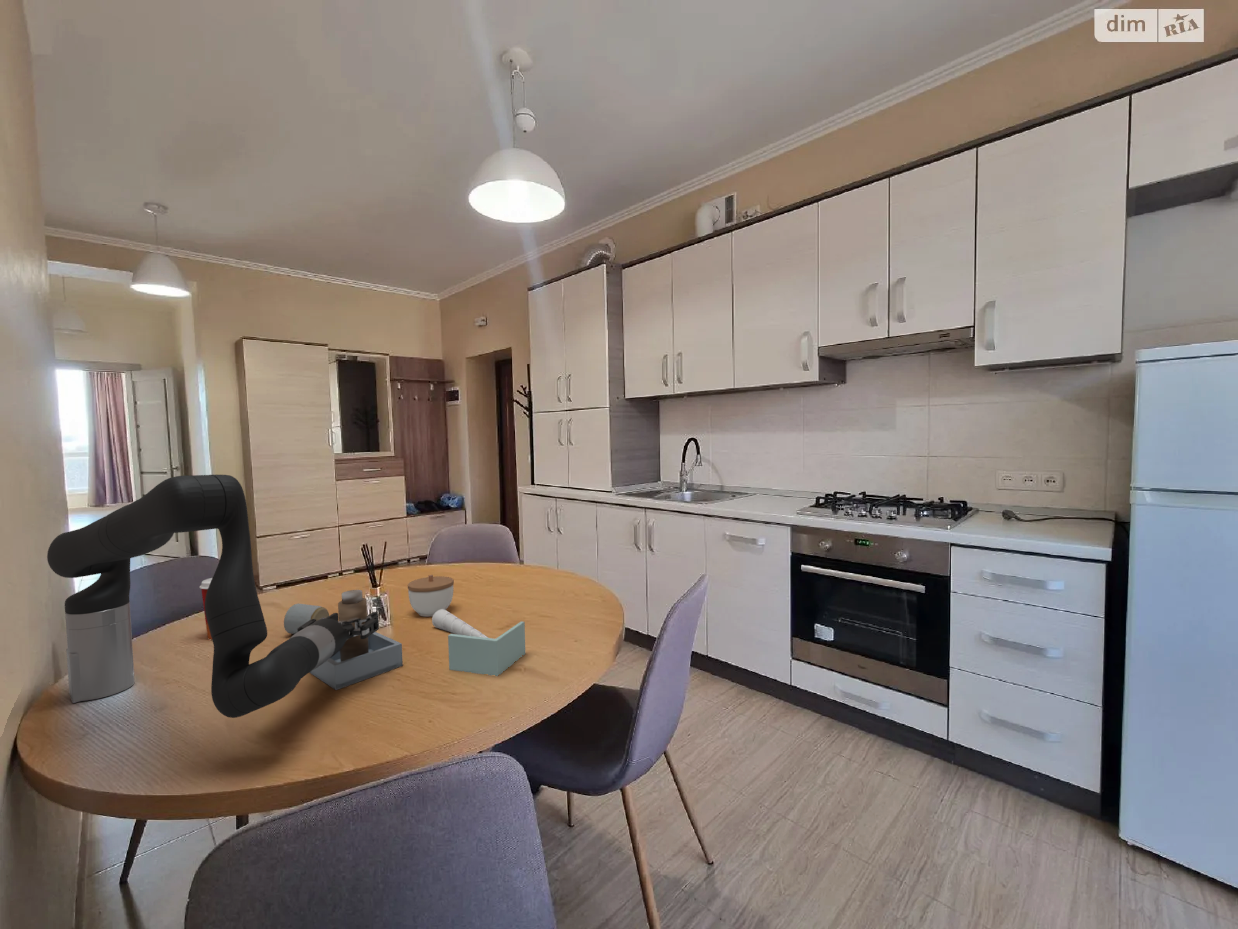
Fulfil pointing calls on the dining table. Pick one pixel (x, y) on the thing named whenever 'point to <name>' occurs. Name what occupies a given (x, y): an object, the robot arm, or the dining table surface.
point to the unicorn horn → (454, 624)
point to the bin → (361, 663)
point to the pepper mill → (350, 609)
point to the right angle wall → (486, 651)
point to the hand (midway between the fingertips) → (356, 616)
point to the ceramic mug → (302, 616)
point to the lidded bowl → (430, 594)
